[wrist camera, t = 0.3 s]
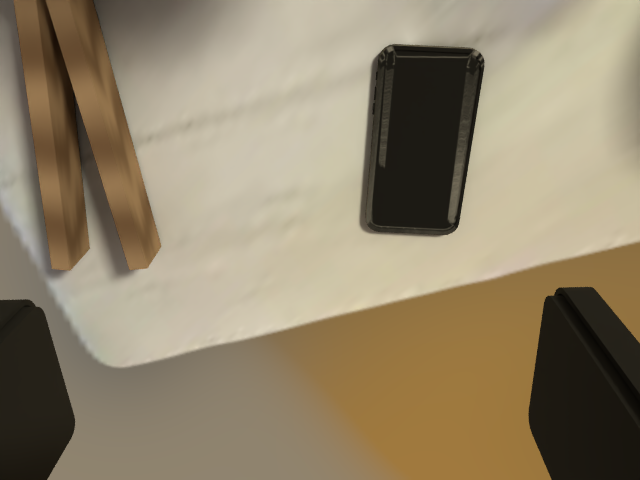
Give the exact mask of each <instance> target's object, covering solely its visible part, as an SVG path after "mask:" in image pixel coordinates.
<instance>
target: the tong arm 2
mask: <svg viewBox="0 0 640 480" xmlns="http://www.w3.org/2000/svg"><path fill="white" fill-rule="evenodd" d="M46 3H47V6H48V9H49V13H50V16H51V19H52V22H53V26H54V29H55V32H56V35H57V38H58V42H59V45H60V48H61V51H62V54H63V58H64V61H65V64H66V67H67V71H68V74H69V77H70V80H71V83H72V87H73V90H74V93H75V96H76V99H77V103H78V106H79V109H80V112H81V116H82V119H83V122H84V125H85V128H86V132H87V135H88V138H89V141H90V144H91V148H92V151H93V154H94V157H95V161H96V164H97V167H98V170H99V173H100V177H101V180H102V183H103V186H104V190H105V193H106V196H107V199H108V202H109V206H110V209H111V212H112V215H113V218H114V222H115V225H116V228H117V231H118V235H119V238H120V241H121V244H122V247H123V251H124V254H125V257H126V260H127V263H128V267H129V270H135V269H145V268H148V267H149V265H150V263H151V262H152V260H153V259H154V257H155V256H156V254H157V252H158V251H159V249H160V248H161V243H160V240H159V236H158V233H157V229H156V225H155V222H154V218H153V215H152V211H151V207H150V204H149V200H148V197H147V193H146V189H145V186H144V182H143V179H142V175H141V171H140V168H139V164H138V161H137V157H136V153H135V150H134V146H133V143H132V139H131V135H130V132H129V128H128V125H127V121H126V117H125V114H124V110H123V107H122V103H121V100H120V96H119V92H118V89H117V85H116V82H115V78H114V74H113V71H112V67H111V64H110V60H109V56H108V53H107V49H106V46H105V42H104V38H103V35H102V31H101V28H100V24H99V20H98V17H97V13H96V10H95V6H94V2H93V0H46Z"/></svg>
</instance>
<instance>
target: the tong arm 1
mask: <svg viewBox="0 0 640 480" xmlns="http://www.w3.org/2000/svg"><path fill="white" fill-rule="evenodd" d="M14 7H15V14H16V21H17V28H18V35H19V42H20V49H21V56H22V63H23V70H24V77H25V84H26V91H27V98H28V105H29V112H30V119H31V126H32V133H33V140H34V147H35V154H36V161H37V168H38V175H39V182H40V189H41V196H42V203H43V210H44V217H45V224H46V231H47V238H48V245H49V252H50V259H51V266H52V269H58V270H71V269H72V268H73V267H74V266H75V265H76V263H77V262H78V261H79V260H80V259H81V258H82V257H83V256H84V255H85V253H86V252H87V251H88V250H89V249H90V247H89V237H88V228H87V219H86V209H85V200H84V191H83V182H82V172H81V163H80V154H79V144H78V135H77V126H76V117H75V107H74V98H73V89H72V83H71V80H70V77H69V74H68V71H67V67H66V64H65V61H64V58H63V54H62V51H61V48H60V45H59V42H58V38H57V35H56V32H55V29H54V26H53V22H52V19H51V16H50V13H49V9H48V6H47V3H46V0H14Z"/></svg>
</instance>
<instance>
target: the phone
mask: <svg viewBox="0 0 640 480" xmlns="http://www.w3.org/2000/svg"><path fill="white" fill-rule="evenodd" d="M483 71H484V58H483V56H482V55H481V53H480V52H478V51H477V50H475V49H473V48H465V47H444V46H423V45H401V44H393V45H389V46H387V47H385V48H384V49H383V50H382V52H381V53H380V56H379V60H378V72H377V73H376V80H377V84H376V87H375V95H374V100H375V103H374V104H373V115H374V121H373V133H372V145H371V157H370V169H369V181H368V193H367V205H366V223H367V225H368V226H369V227H370V229H372V230H374V231H378V232H394V233H414V234H434V235H448V234H450V233H452V232H454V231H455V230H456V229H457V227H458V225H459V220H460V214H461V208H462V202H463V195H464V189H465V183H466V177H467V171H468V164H469V158H470V152H471V146H472V140H473V133H474V127H475V121H476V115H477V108H478V102H479V96H480V90H481V84H482V77H483Z"/></svg>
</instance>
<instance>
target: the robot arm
mask: <svg viewBox="0 0 640 480" xmlns="http://www.w3.org/2000/svg"><path fill="white" fill-rule="evenodd" d="M529 424H530V429H531V432H532V434H533V437H534V439H535V442H536V444H537V446H538V449H539V451H540V453H541V456H542V458H543V460H544V463H545V465H546V467H547V470H548V472H549V474H550V477H551V479H552V480H640V343H639V342H638V341H637V340H636V338H635V337H634V336H633V335H632V334H631V332H630V331H629V330H628V329H627V328H626V326H625V325H624V324H623V323H622V322H621V320H620V319H619V318H618V317H617V315H616V314H615V313H614V312H613V311H612V309H611V308H610V307H609V306H608V305H607V304H606V302H605V301H604V300H603V299H602V297H601V296H600V295H599V294H598V293H597V292H596V290H595V289H594V288H592V287H569V288H558V289H557V290H556V292H555V294H554V296H547V297H546V299H545V302H544V308H543V314H542V322H541V328H540V335H539V343H538V349H537V356H536V363H535V371H534V378H533V384H532V391H531V399H530V406H529ZM74 427H75V418H74V414H73V410H72V407H71V403H70V400H69V396H68V393H67V389H66V386H65V382H64V379H63V376H62V372H61V368H60V365H59V362H58V358H57V355H56V351H55V348H54V344H53V341H52V337H51V334H50V330H49V327H48V323H47V320H46V317H45V314H44V311H43V310H42V309H41V308H40V307H36V306H35V304H34V303H33V302H32V301H30V300H0V480H47V479H48V477H49V475H50V474H51V472H52V470H53V468H54V467H55V465H56V463H57V461H58V460H59V458H60V456H61V455H62V453H63V451H64V450H65V448H66V446H67V444H68V443H69V441H70V439H71V437H72V435H73V432H74Z"/></svg>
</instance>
